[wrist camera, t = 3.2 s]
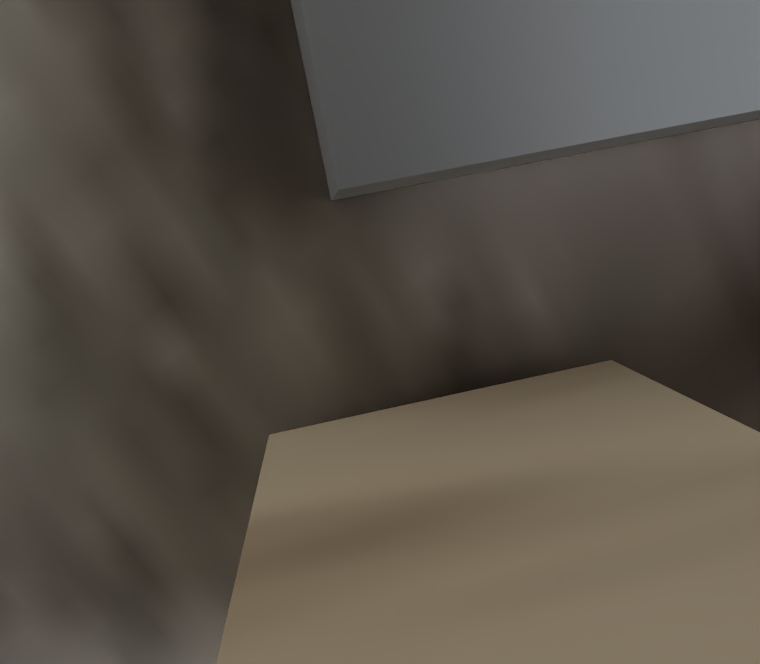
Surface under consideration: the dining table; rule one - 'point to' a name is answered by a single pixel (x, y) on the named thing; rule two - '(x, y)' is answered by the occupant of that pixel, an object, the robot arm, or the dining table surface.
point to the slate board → (515, 80)
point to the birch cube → (507, 532)
